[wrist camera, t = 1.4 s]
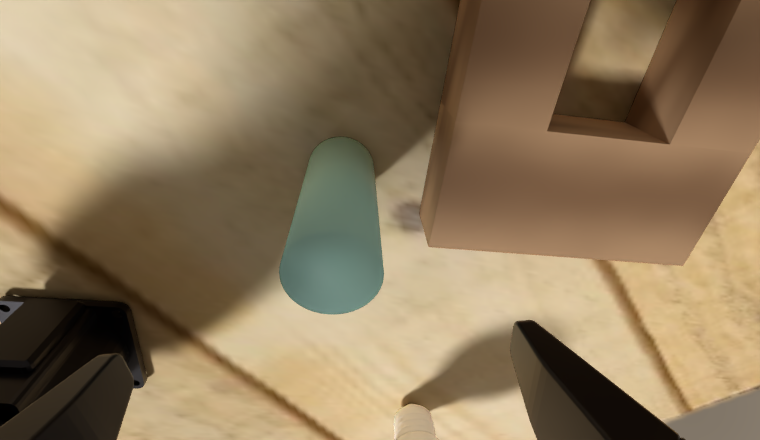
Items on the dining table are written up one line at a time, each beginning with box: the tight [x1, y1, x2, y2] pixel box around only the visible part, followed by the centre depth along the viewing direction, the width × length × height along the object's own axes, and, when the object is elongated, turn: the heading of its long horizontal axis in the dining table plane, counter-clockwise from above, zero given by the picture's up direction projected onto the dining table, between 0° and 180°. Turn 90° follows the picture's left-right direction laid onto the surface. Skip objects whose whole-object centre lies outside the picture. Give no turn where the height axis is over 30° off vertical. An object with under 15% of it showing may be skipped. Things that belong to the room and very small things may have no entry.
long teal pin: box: [279, 137, 384, 314], centre depth 15 cm, size 3×3×8 cm
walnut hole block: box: [419, 0, 760, 266], centre depth 15 cm, size 16×12×3 cm
